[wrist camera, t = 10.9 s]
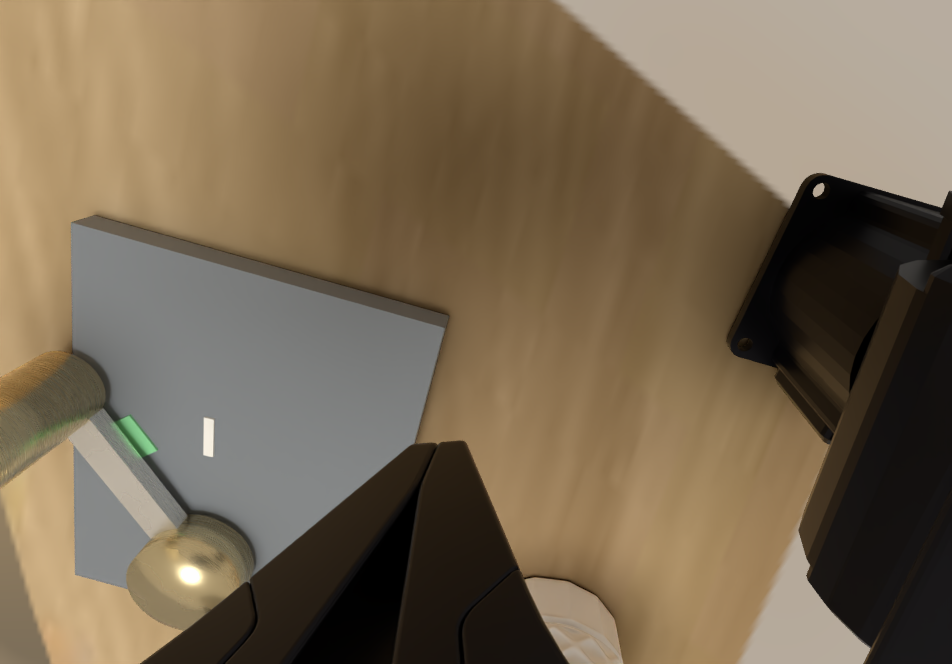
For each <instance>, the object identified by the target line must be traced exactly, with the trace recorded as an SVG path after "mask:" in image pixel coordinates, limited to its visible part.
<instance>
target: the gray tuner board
mask: <svg viewBox="0 0 952 664" xmlns="http://www.w3.org/2000/svg"><path fill="white" fill-rule="evenodd" d="M71 264H72V350H73V355H75V356H77V357H79V358H81V359H82V360H84V361H85V362H87V363H88V364H89V365H90V366H91V367H92V368H93V369H94V370H95V371H96V372H97V374H98V375H99V377H100V378H101V380H102V382H103V384H104V387H105V391H106V402H105V405H104V410H105V411H106V412H107V414H108V415H109V416H110V417H111V419H112V420H113V421H114V422H115V424H116V425H117V426H118V428H119V429H120V430H121V431H122V433H123V434H124V435H125V437H126V438H127V439H128V440H129V442H130V443H131V444H132V445H133V447H134V448H135V449H136V451H137V452H138V453H139V454H140V456H141V457H142V458H143V460H144V461H145V462H146V463H147V465H148V466H149V467H150V468H151V470H152V471H153V472H154V474H155V475H156V476H157V477H158V479H159V480H160V481H161V482H162V484H163V485H164V486H165V488H166V489H167V490H168V491H169V493H170V494H171V495H172V497H173V498H174V499H175V500H176V502H177V503H178V504H179V505H180V507H181V508H182V509H183V511H184V512H185V513H186V514H197V515H204V516H208V517H212V518H214V519H217V520H219V521H221V522H223V523H225V524H227V525H228V526H230V527H232V528H233V529H234V530H235V531H237V532H238V533H239V534H240V535H241V536H242V537H243V539H244V540H245V541H246V543H247V544H248V546H249V548H250V550H251V552H252V555H253V559H254V569H253V573H252V576H253V575H254V574H255V573H256V572H258V571H259V570H260V569H261V568H262V567H264V566H265V565H266V564H267V563H269V562H270V561H271V560H272V559H273V558H275V557H276V556H277V555H278V554H279V553H281V552H282V551H283V550H284V549H285V548H287V547H288V546H289V545H290V544H291V543H293V542H294V541H295V540H296V539H298V538H299V537H300V536H301V535H302V534H304V533H305V532H306V531H307V530H308V529H310V528H311V527H312V526H313V525H314V524H316V523H317V522H318V521H319V520H320V519H322V518H323V517H324V516H325V515H326V514H328V513H329V512H330V511H331V510H332V509H334V508H335V507H336V506H337V505H338V504H340V503H341V502H342V501H343V500H345V499H346V498H347V497H348V496H349V495H351V494H352V493H353V492H354V491H355V490H357V489H358V488H359V487H360V486H361V485H363V484H364V483H365V482H366V481H367V480H369V479H370V478H371V477H372V476H373V475H375V474H376V473H377V472H378V471H379V470H381V469H382V468H383V467H384V466H385V465H387V464H388V463H389V462H390V461H392V460H393V459H394V458H395V457H396V456H398V455H399V454H400V453H401V452H402V451H404V450H405V449H406V448H407V447H408V446H410V445H412V444H415V442H416V438H417V435H418V431H419V427H420V423H421V420H422V416H423V412H424V409H425V405H426V401H427V397H428V394H429V390H430V386H431V382H432V379H433V375H434V371H435V368H436V364H437V360H438V356H439V353H440V349H441V345H442V341H443V338H444V334H445V330H446V327H447V323H448V319H449V316H448V315H445V314H441V313H438V312H434V311H431V310H427V309H424V308H420V307H416V306H413V305H409V304H406V303H402V302H399V301H395V300H392V299H388V298H385V297H381V296H378V295H374V294H371V293H367V292H364V291H360V290H356V289H353V288H349V287H346V286H342V285H339V284H335V283H332V282H328V281H325V280H321V279H318V278H314V277H311V276H307V275H304V274H300V273H296V272H293V271H289V270H286V269H282V268H279V267H275V266H272V265H268V264H265V263H261V262H258V261H254V260H251V259H247V258H243V257H240V256H236V255H233V254H229V253H226V252H222V251H219V250H215V249H212V248H208V247H205V246H201V245H198V244H194V243H191V242H187V241H183V240H180V239H176V238H173V237H169V236H166V235H162V234H159V233H155V232H152V231H148V230H145V229H141V228H138V227H134V226H131V225H127V224H123V223H120V222H116V221H113V220H109V219H106V218H102V217H99V216H95V215H94V216H90V217H87V218H84V219H81V220H77V221H74V222H71ZM74 523H75V575H78V576H82V577H85V578H89V579H93V580H96V581H100V582H104V583H107V584H111V585H115V586H118V587H122V588H126V589H128V587H127V582H126V573H127V569H128V567H129V565H130V563H131V562H132V560H133V559H134V558H135V557H136V556H137V554H138V553H139V552H140V551H141V550H142V548H143V547H144V546H145V545H146V544H147V542H148V541H149V540H150V537H149V536H148V535H147V534H146V532H145V531H144V530H143V529H142V528H141V526H140V525H139V524H138V523H137V522H136V520H135V519H134V518H133V517H132V515H131V514H130V513H129V512H128V511H127V509H126V508H125V507H124V506H123V504H122V503H121V502H120V501H119V500H118V498H117V497H116V496H115V495H114V494H113V492H112V491H111V490H110V489H109V487H108V486H107V485H106V484H105V483H104V481H103V480H102V479H101V478H100V477H99V475H98V474H97V473H96V472H95V470H94V469H93V468H92V467H91V466H90V464H89V463H88V462H87V461H86V459H85V458H84V457H83V456H82V455H81V453H80V452H79V451H78V450H77V449H76V447H75V446H74ZM252 576H251V577H252ZM249 580H250V579H249ZM248 582H249V583H250V581H248Z"/></svg>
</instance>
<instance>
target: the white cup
mask: <svg viewBox="0 0 952 664" xmlns="http://www.w3.org/2000/svg"><path fill="white" fill-rule="evenodd" d="M524 580H525V582H526V584H527V587H528V589H529V591H530V593H531V595H532V598H533V600H534V602H535V604H536V606H537V608H538V610H539V612H540V614H541V616H542V618H543V620H544V622H545V624H546V626H547V627H548V629H549V631H550V632H551V634H552V636H553V638H554V639H555V641H556V643H557V644H558V646H559V648H560V650H561V651H562V653H563V655H564V656H565V658H566V659H567V661H568V662H569V664H623V660H622V655H621V650H620V644H619V639H618V634H617V628H616V623H615V620H614V618H613V616H612V615H611V614H610V613H609V611H608V610H607V609H606V607H605V606H604V605H603V604H602V602H601V601H600V600H599V598H598V597H597V596H596V595H594V594H592V593H590V592H588V591H586V590H584V589H582V588H580V587H578V586H576V585H574V584H572V583H570V582H568V581H562V580H554V579H545V578H537V577H533V578H529V579H524Z"/></svg>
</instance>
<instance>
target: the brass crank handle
mask: <svg viewBox="0 0 952 664" xmlns="http://www.w3.org/2000/svg"><path fill="white" fill-rule="evenodd" d="M105 402H106V391H105V387H104V384H103V382H102V380H101V378H100V377H99V375H98V374H97V372H96V371H95V370H94V369H93V368H92V367H91V366H90V365H89V364H88V363H87V362H85V361H84V360H82V359H81V358H79V357H77V356H75V355H72V354H70V353H66V352H61V351H51V352H46V353H44V354H42V355H40V356H38V357H36V358H34V359H33V360H31V361H29V362H27V363H25V364H24V365H22V366H20V367H18V368H16V369H15V370H13V371H11V372H9V373H7V374H6V375H4V376H2V377H0V489H1V488H3V487H4V486H5V485H6V484H8V483H9V482H10V481H12V480H13V479H14V478H16V477H17V476H18V475H20V474H21V473H22V472H23V471H25V470H26V469H27V468H29V467H30V466H31V465H33V464H34V463H35V462H37V461H38V460H39V459H41V458H42V457H43V456H44V455H46V454H47V453H48V452H50V451H51V450H52V449H54V448H55V447H56V446H58V445H59V444H60V443H61V442H63V441H64V440H65V439H67V438H68V439H69V440H70V441H71V442H72V444H73V445H74V446H75V447H76V449H77V450H78V451H79V452H80V453H81V455H82V456H83V457H84V458H85V459H86V461H87V462H88V463H89V464H90V466H91V467H92V468H93V469H94V470H95V472H96V473H97V474H98V475H99V477H100V478H101V479H102V480H103V481H104V483H105V484H106V485H107V486H108V487H109V489H110V490H111V491H112V492H113V494H114V495H115V496H116V497H117V498H118V500H119V501H120V502H121V503H122V504H123V506H124V507H125V508H126V509H127V511H128V512H129V513H130V514H131V515H132V517H133V518H134V519H135V520H136V522H137V523H138V524H139V525H140V526H141V528H142V529H143V530H144V531H145V532H146V534H147V535H148V536H149V537H150V540H149V541H148V542H147V544H146V545H145V546H144V547H143V548H142V550H141V551H140V552H139V553H138V554H137V556H136V557H135V558H134V559H133V560H132V562H131V563H130V565H129V567H128V569H127V573H126V582H127V587H128V590H129V592H130V595H131V596H132V598H133V600H134V601H135V602H136V604H137V605H138V606H139V607H140V608H141V609H142V610H143V611H144V612H145V613H146V614H147V615H149V616H150V617H152V618H153V619H155V620H157V621H158V622H160V623H162V624H164V625H167V626H169V627H172V628H175V629H179V630H186V629H187V628H189V627H190V626H191V625H192V624H194V623H195V622H196V621H197V620H199V619H200V618H201V617H202V616H204V615H205V614H206V613H207V612H209V611H210V610H211V609H212V608H214V607H215V606H216V605H218V604H219V603H220V602H221V601H223V600H224V599H225V598H226V597H227V596H229V595H230V594H231V593H232V592H233V591H235V590H236V589H237V588H238V587H239V586H241V585H242V584H243V583H244V582H248V581H249V579H250V578H251V576H252V573H253V569H254V559H253V555H252V552H251V550H250V548H249V546H248V544H247V543H246V541H245V540H244V539H243V537H242V536H241V535H240V534H239V533H238V532H237V531H235V530H234V529H233V528H232V527H230V526H228V525H227V524H225V523H223V522H221V521H219V520H217V519H214V518H212V517H208V516H204V515H197V514H186V513H185V512H184V511H183V509H182V508H181V507H180V505H179V504H178V503H177V502H176V500H175V499H174V498H173V497H172V495H171V494H170V493H169V491H168V490H167V489H166V488H165V486H164V485H163V484H162V482H161V481H160V480H159V479H158V477H157V476H156V475H155V474H154V472H153V471H152V470H151V468H150V467H149V466H148V465H147V463H146V462H145V461H144V460H143V458H142V457H141V456H140V454H139V453H138V452H137V451H136V449H135V448H134V447H133V445H132V444H131V443H130V442H129V440H128V439H127V438H126V437H125V435H124V434H123V433H122V431H121V430H120V429H119V428H118V426H117V425H116V424H115V422H114V421H113V420H112V419H111V417H110V416H109V415H108V414H107V412H106V411H105V410H104V405H105Z"/></svg>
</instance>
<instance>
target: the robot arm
mask: <svg viewBox="0 0 952 664" xmlns="http://www.w3.org/2000/svg"><path fill="white" fill-rule="evenodd" d="M820 183H823V184H824V186H825V188H824V192H823V193H822V194H821V195H820V196H818V197H814V196H813V189H814V188H815V186H816V185H817V184H820ZM743 338H749V342H748V343H747V344H746V345H745V346H742V347H741V346H737V345H738V342H739V341H740V340H741V339H743ZM727 345H728V347H729V348H730V350H731V351H732V352H733V354H734V355H736V356H738V357H741V358H744V359H748V360H751V361H755V362H758V363H762V364H765V365H769V366H772V367H776V368H779V369H778V371H777V372H776V374H775V379H776V381H777V383H778V385H779V386H780V388H781V389H782V390H783V391H784V393H785V394H786V395H787V396H788V398H789V399H790V400H791V401H792V403H793V404H794V405H795V406H796V408H797V409H798V410H799V411H800V413H801V414H802V415H803V416H804V418H805V419H806V420H807V421H808V423H809V424H810V425H811V427H812V428H813V429H814V430H815V432H816V433H817V434H818V435H819V437H820V438H821V439H822V440H823V441H824V442H825V443H827V444H830V446H829V448H828V451H827V453H826V456H825V458H824V461H823V464H822V466H821V469H820V471H819V474H818V476H817V479H816V482H815V484H814V487H813V489H812V492H811V494H810V497H809V500H808V502H807V505H806V507H805V510H804V513H803V517H802V520H801V523H800V527H799V530H798V531H799V534H800V537H801V541H802V544H803V548H804V551H805V555H806V558H807V560H808V562H809V564H810V567H809V570H808V573H807V575H806V576H807V579H808V581H809V583H810V584H811V585H812V587H813V588H814V589H815V591H816V592H817V593H818V594H819V596H820V597H821V599H822V600H823V602H824V603H825V604H826V605H827V607H828V608H829V609H830V610H831V612H832V613H833V614H834V615H835V616H836V617H837V618H838V619H839V620H840V621H841V622H842V623H843V624H844V625H845V626H846V627H847V628H848V629H849V630H850V631H852V633H853V634H854V635H855V636H856V637H857V638H858V639H859V640H860V641H861V642H863V643H864V644H865V645H867V646H868V647H869V648H871V649H870V652H869V654H868V655H867V657H866V660H865V662H864V663H863V664H952V191H949V192H948V195H947V197H946V200H945V202H944V205H943V207H942V208H940V207H937V206H933V205H929V204H927V203H923V202H920V201H916V200H913V199H909V198H906V197H903V196H899V195H896V194H892V193H889V192H885V191H882V190H878V189H875V188H872V187H868V186H865V185H861V184H858V183H854V182H851V181H847V180H844V179H841V178H837V177H834V176H830V175H827V174H823V173H816V174H813V175H810V176H809V177H807V178H806V179H805V180H804V181H803V183H802V184H801V186H800V188H799V190H798V192H797V194H796V196H795V199H794V200H793V202H792V205H791V207H790V209H789V211H788V213H787V215H786V217H785V219H784V221H783V223H782V225H781V227H780V229H779V232H778V234H777V236H776V238H775V240H774V242H773V244H772V246H771V248H770V250H769V252H768V254H767V256H766V258H765V261H764V263H763V265H762V267H761V269H760V271H759V273H758V275H757V277H756V279H755V281H754V283H753V285H752V288H751V290H750V292H749V294H748V296H747V298H746V300H745V302H744V304H743V306H742V308H741V310H740V312H739V314H738V317H737V319H736V321H735V323H734V325H733V327H732V329H731V331H730V333H729V335H728V338H727ZM249 581H250V583H249V582H244V583H243V584H242V585H241V586H239V587H238V588H237V589H236V590H235V591H233V592H232V593H231V594H230V595H229V596H227V597H226V598H225V599H224V600H223V601H221V602H220V603H219V604H218V605H216V606H215V607H214V608H212V609H211V610H210V611H209V612H207V613H206V614H205V615H204V616H202V617H201V618H200V619H199V620H197V621H196V622H195V623H194V624H192V625H191V626H190V627H189V628H187V629H186V630H185V631H183V632H182V633H181V634H179V635H178V636H177V637H175V638H174V639H173V640H171V641H170V642H169V643H167V644H166V645H165V646H163V647H162V648H161V649H159V650H158V651H157V652H155V653H154V654H152V655H151V656H150V657H148V658H147V659H146V660H144V661H143V662H142V663H140V664H569V662H568V661H567V659H566V658H565V656H564V655H563V653H562V651H561V650H560V648H559V646H558V644H557V643H556V641H555V639H554V638H553V636H552V634H551V632H550V631H549V629H548V627H547V626H546V624H545V622H544V620H543V618H542V616H541V614H540V612H539V610H538V608H537V606H536V604H535V602H534V600H533V598H532V595H531V593H530V591H529V589H528V587H527V584H526V582H525V580H524V577H523V575H522V573H521V572H520V568H519V566H518V564H517V561H516V559H515V557H514V554H513V552H512V550H511V547H510V545H509V542H508V540H507V538H506V535H505V533H504V531H503V528H502V526H501V524H500V521H499V519H498V516H497V514H496V512H495V509H494V507H493V505H492V502H491V500H490V497H489V495H488V493H487V490H486V488H485V486H484V483H483V481H482V479H481V476H480V474H479V471H478V469H477V467H476V464H475V462H474V460H473V457H472V455H471V453H470V450H469V448H468V445H467V443H466V442H465V441H448V442H441V443H439V444H438V445H437V444H436V443H421V444H412V445H410V446H408V447H407V448H406V449H405V450H404V451H402V452H401V453H400V454H399V455H398V456H396V457H395V458H394V459H393V460H392V461H390V462H389V463H388V464H387V465H385V466H384V467H383V468H382V469H381V470H379V471H378V472H377V473H376V474H375V475H373V476H372V477H371V478H370V479H369V480H367V481H366V482H365V483H364V484H363V485H361V486H360V487H359V488H358V489H357V490H355V491H354V492H353V493H352V494H351V495H349V496H348V497H347V498H346V499H345V500H343V501H342V502H341V503H340V504H338V505H337V506H336V507H335V508H334V509H332V510H331V511H330V512H329V513H328V514H326V515H325V516H324V517H323V518H322V519H320V520H319V521H318V522H317V523H316V524H314V525H313V526H312V527H311V528H310V529H308V530H307V531H306V532H305V533H304V534H302V535H301V536H300V537H299V538H298V539H296V540H295V541H294V542H293V543H291V544H290V545H289V546H288V547H287V548H285V549H284V550H283V551H282V552H281V553H279V554H278V555H277V556H276V557H275V558H273V559H272V560H271V561H270V562H269V563H267V564H266V565H265V566H264V567H262V568H261V569H260V570H259V571H258V572H256V573H255V574H254V575H253V576H252V577H251V578H250V580H249Z"/></svg>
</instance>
